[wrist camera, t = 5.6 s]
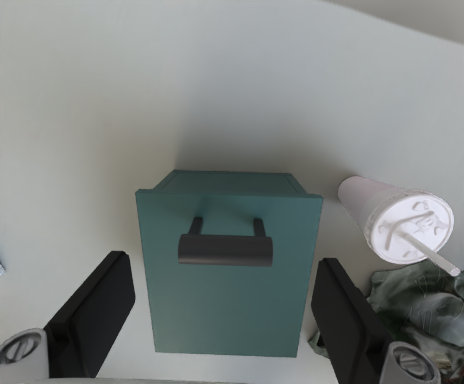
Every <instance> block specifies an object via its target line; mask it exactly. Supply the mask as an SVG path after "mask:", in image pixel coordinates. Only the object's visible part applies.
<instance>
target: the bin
mask: <svg viewBox="0 0 464 384" xmlns="http://www.w3.org/2000/svg"><path fill="white" fill-rule="evenodd" d="M152 190H185V191H219V192H253V193H287V194H307V192H306V191H305V190H304V189H303V188H302V186H301V185H300V184H299V183H298V182H297V181H296V179H295V178H294V177H293V176H292V175H291V174H288V173H252V172H217V171H182V170H173V171H172V172H171V173H170V174H169V175H167V176H166V177H165V178H164V179H163V180H162V181H161V182H160V183H159V184H158V185H157V186H156V187H155V188H153V189H152Z"/></svg>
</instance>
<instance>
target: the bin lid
mask: <svg viewBox="0 0 464 384" xmlns="http://www.w3.org/2000/svg"><path fill="white" fill-rule="evenodd" d="M135 195H136V203H137V211H138V218H139V226H140V234H141V242H142V250H143V258H144V266H145V274H146V282H147V289H148V297H149V305H150V313H151V321H152V329H153V337H154V345H155V352H162V353H188V354H214V355H240V356H266V357H293V358H296V356H297V350H298V344H299V338H300V332H301V326H302V320H303V314H304V308H305V302H306V297H307V291H308V285H309V279H310V273H311V267H312V261H313V255H314V249H315V243H316V238H317V232H318V226H319V220H320V214H321V208H322V202H323V197H322V196H321V195H319V194H287V193H253V192H219V191H185V190H151V189H139V190H138V191H137V192H135Z"/></svg>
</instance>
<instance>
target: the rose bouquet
mask: <svg viewBox="0 0 464 384" xmlns="http://www.w3.org/2000/svg"><path fill="white" fill-rule="evenodd" d="M370 280H371V282H372V291H371V295H370V297H368V298H367V301H368V302H369V304H370V305H371V307H372V308H373V310H374V311H375V313H376V314H377V316H378V317H379V319H380V320H381V322H382V323H383V325H384V326H385V328H386V329H387V331H388V332H389V334H390V335H391V337H392V338H393V340H394V341H395V342H405V343H408V344H410V345H413V346H415V347H417V348H418V349H420V350H421V351H423V352H424V353H425V354H426V355H427V356H429V357H430V358H431V359H432V361H433V362H434V363H435V364H436V366H437V368H438V369H439V371H440V375H441V379H442V380H444V381H446V382H447V383H449V384H464V273H459V274H458V275H457V276H452V275H450V274H449V273H448V272H447V271H445V270H444V269H441V268H438V267H436V266H435V265H434V264H433V263H431V262H430V261H429V260H425V262H424V261H421V263H417V264H413V265H411V266H407V267H404V268H403V269H399V270H392V271H383V272H375V273H374V275H373V276H372V277H371V279H370ZM319 335H320V331H318V333H317V334H316V335H315V336H314V338H313V339H312V340H311V341H310V342H308V343H309V345H310V346H311V347H312V348H313V350H314V352H315V353H317V354H319V355H321V356H324V357H326V358H328V359H330V358H329V355H328V353H327V350H326V347H325V346H318V345H316V344H317V340H318V338H319Z"/></svg>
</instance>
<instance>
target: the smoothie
mask: <svg viewBox="0 0 464 384" xmlns="http://www.w3.org/2000/svg"><path fill="white" fill-rule="evenodd" d="M338 198H339V200H340V201H341V202H342V204H343V205H344V206H345V208H346V209H347V211H348V212H349V213H350V215H351V216H352V217H353V219H354V220H355V222H356V223H357V224H358V226H359V227H360V228H361V230H362V231H363V233H364V234H365V238H366V241H367V244H368V245H369V247H370V248H371V249H372V250H373V251H374V252H375V253H376V254H377V255H378V256H380V257H381V258H382V259H384V260H386V261H388V262H391V263H395V264H410V263H415V262H419V261H421V260H424V259H426V258H430V259H431V260H432V261H434V262H435V263H436V264H437V265H439V266H440V267H441V268H443V269H444V270H445V271H447V272H448V273H449V274H450V275H452V276H457V275H458V274H459V273H460V270H459V269H458V268H457V267H455V266H454V265H452V264H451V263H450V262H448V261H447V260H445V259H444V258H443V257H441V256H440V255H438V254H437V253H436V252H437V251H438V250H440V249H441V247H442V246H443V245H444V244H445V243H446V242H447V240H448V239H449V237H450V235H451V232H452V230H453V225H454V216H453V212H452V210H451V208H450V206H449V205H448V204H447V203H446V202H445V201H444V200H443V199H441V198H439V197H437V196H435V195H434V194H432V193H429V192H427V191H424V190H415V189H412V190H406V189H402V188H399V187H395V186H392V185H388V184H385V183H381V182H378V181H374V180H371V179H367V178H363V177H360V176H352V177H349V178H347V179H346V180H344V181H343V182H342V183H341V185H340V186H339V188H338Z"/></svg>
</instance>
